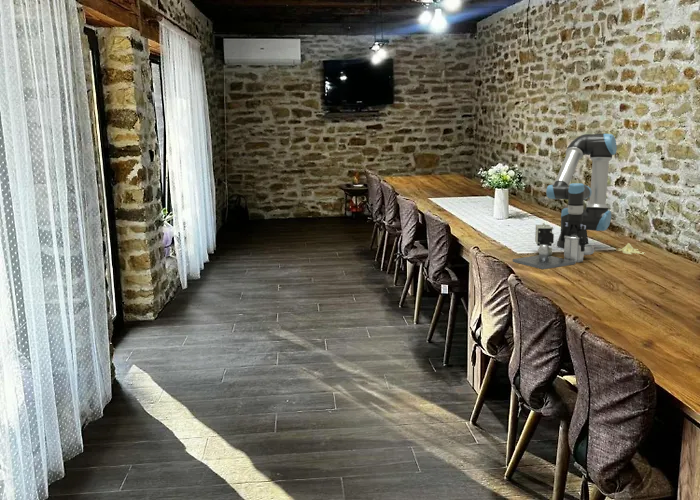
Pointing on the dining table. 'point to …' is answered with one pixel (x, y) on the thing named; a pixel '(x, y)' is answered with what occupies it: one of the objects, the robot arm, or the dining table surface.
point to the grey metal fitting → (575, 248)
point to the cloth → (629, 249)
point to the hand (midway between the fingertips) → (573, 255)
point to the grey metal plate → (543, 260)
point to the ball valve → (544, 236)
